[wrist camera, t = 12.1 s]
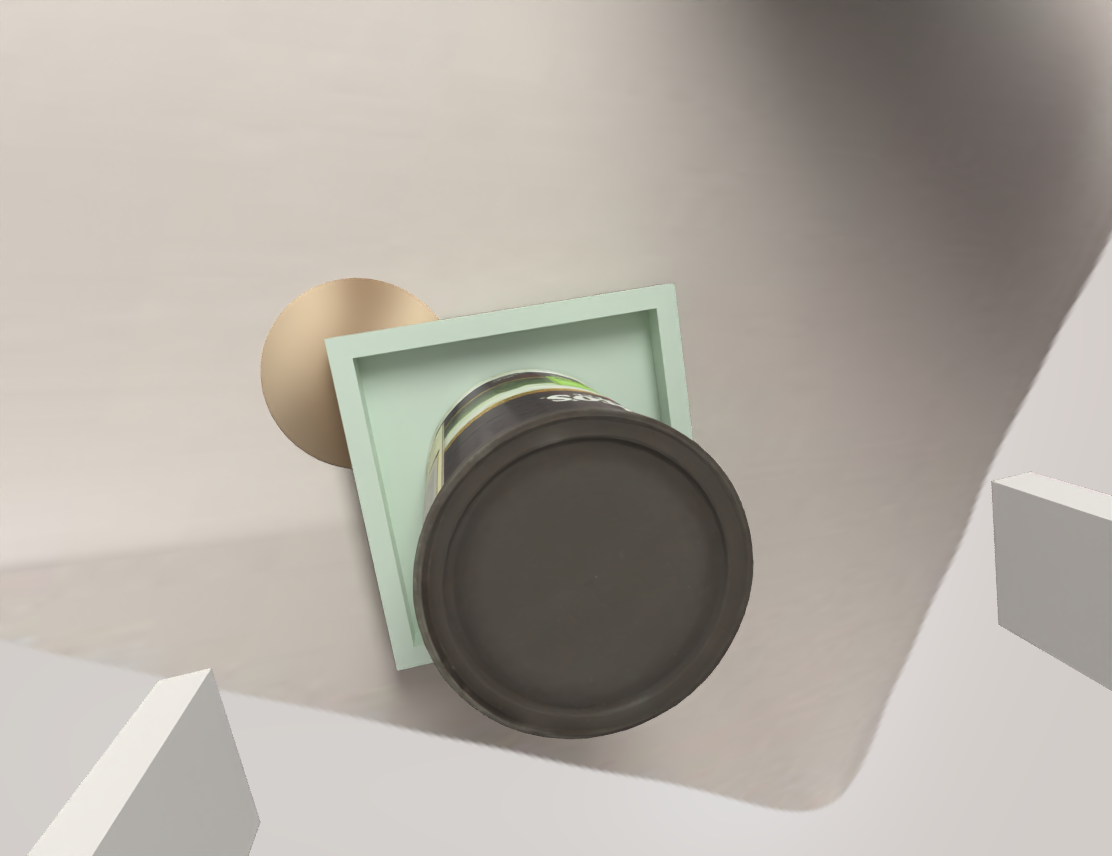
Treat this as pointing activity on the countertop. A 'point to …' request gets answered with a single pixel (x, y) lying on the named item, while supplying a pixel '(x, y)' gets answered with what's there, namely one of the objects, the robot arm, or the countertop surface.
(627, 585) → the coffee can
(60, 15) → the countertop surface
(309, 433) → the copper metal coaster
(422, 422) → the tray
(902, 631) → the countertop surface
